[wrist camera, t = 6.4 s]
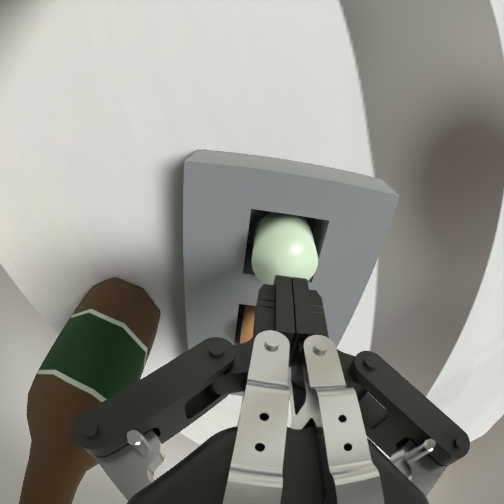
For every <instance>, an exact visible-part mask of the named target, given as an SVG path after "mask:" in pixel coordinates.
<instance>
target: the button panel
mask: <svg viewBox="0 0 504 504" xmlns="http://www.w3.org/2000/svg"><path fill="white" fill-rule="evenodd" d="M399 197H400V196H399V195H398V194H397V193H396V192H395V191H394V190H393V189H392V188H391V187H390V186H388V184H386V183H385V182H384V181H383V180H382V179H378V178H374V177H370V176H366V175H362V174H357V173H353V172H348V171H344V170H339V169H334V168H329V167H324V166H319V165H313V164H308V163H302V162H296V161H290V160H284V159H277V158H270V157H263V156H256V155H248V154H240V153H231V152H221V151H210V150H197V151H195V152H194V153H193V154H192V155H191V156H189V157H188V158H187V159H186V160H185V161H184V181H183V267H184V295H185V314H186V330H187V343H188V350H189V349H191V348H193V347H194V346H196V345H197V344H199V343H200V342H202V341H203V340H205V339H207V338H211V337H220V338H224V339H226V340H228V341H229V342H231V343H232V345H234V344H240V336H241V328H242V320H243V318H242V317H238V312H239V304H244V305H252V306H256V303H257V297H258V292H259V289H260V288H261V287H262V285H263V284H264V283H263V282H262V281H260V280H259V279H258V278H257V276H256V275H255V273H254V271H253V268H252V252H253V249H248V248H247V241H248V233H249V226H250V218H251V210H252V209H256V210H263V211H270V212H277V213H284V214H291V215H297V216H304V217H310V218H316V219H317V220H316V224H315V228H314V232H313V239H314V243H315V247H316V251H317V256H318V266H317V269H316V271H315V273H314V275H313V276H312V277H311V278H310V279H309V280H308V287H309V290H316V291H317V292H318V294H319V295H320V296H321V298H322V302H323V308H324V314H325V318H326V324H327V330H328V336H329V339H330V340H332V341H333V343H334V344H335V346H336V347H337V345H338V344H339V342H340V340H341V338H342V336H343V334H344V332H345V330H346V328H347V326H348V324H349V322H350V320H351V318H352V316H353V314H354V311H355V309H356V307H357V305H358V303H359V301H360V299H361V296H362V294H363V292H364V290H365V287H366V285H367V283H368V281H369V278H370V276H371V273H372V271H373V269H374V266H375V264H376V261H377V259H378V256H379V254H380V251H381V249H382V246H383V243H384V241H385V238H386V235H387V233H388V230H389V227H390V224H391V221H392V219H393V215H394V213H395V210H396V207H397V203H398V201H399ZM290 375H291V367H288V379H287V387H289V383H288V381H289V378H290ZM231 394H232V395H240V396H243V394H244V391H243V392H237V393H231ZM289 400H290V394H289Z"/></svg>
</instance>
